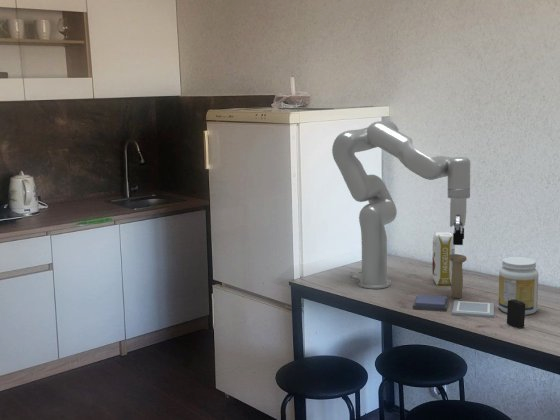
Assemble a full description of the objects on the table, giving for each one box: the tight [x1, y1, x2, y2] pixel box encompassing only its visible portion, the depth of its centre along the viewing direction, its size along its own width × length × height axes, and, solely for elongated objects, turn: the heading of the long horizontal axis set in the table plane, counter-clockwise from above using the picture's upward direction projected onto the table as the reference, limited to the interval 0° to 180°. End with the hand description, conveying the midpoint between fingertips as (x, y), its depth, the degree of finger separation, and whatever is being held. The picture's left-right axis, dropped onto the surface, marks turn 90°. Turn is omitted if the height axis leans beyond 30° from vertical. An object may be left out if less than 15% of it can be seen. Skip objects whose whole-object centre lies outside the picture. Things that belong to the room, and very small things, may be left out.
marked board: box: [451, 300, 495, 318], centre depth 224 cm, size 13×13×1 cm
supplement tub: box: [498, 256, 540, 316], centre depth 221 cm, size 12×12×17 cm
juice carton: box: [431, 231, 456, 286], centre depth 255 cm, size 8×9×19 cm
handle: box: [449, 253, 467, 299], centre depth 237 cm, size 5×6×15 cm
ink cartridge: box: [506, 299, 526, 330], centre depth 207 cm, size 5×2×8 cm, turn 29°
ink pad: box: [412, 294, 450, 312], centre depth 230 cm, size 11×11×2 cm
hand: (458, 241), depth 234 cm, fingers open, 9 cm apart
